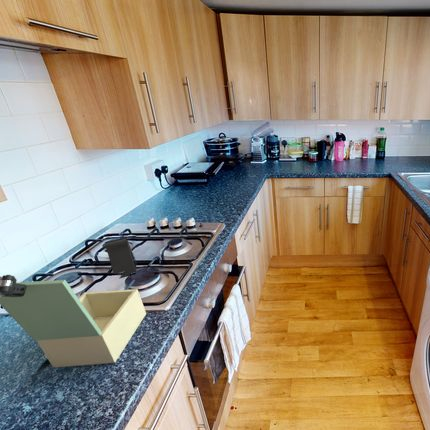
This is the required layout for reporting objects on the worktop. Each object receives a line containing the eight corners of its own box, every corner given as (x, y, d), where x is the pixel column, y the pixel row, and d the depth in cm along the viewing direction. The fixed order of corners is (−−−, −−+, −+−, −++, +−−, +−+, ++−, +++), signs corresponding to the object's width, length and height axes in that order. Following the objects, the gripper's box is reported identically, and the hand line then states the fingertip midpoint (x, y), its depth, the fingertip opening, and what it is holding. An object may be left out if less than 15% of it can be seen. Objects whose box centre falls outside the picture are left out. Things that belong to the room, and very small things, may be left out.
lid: (-13, 284, 53) (-17, 287, 52) (65, 279, 54) (62, 282, 53) (36, 337, 62) (33, 340, 61) (102, 332, 63) (100, 335, 62)
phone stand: (136, 274, 97) (125, 243, 92) (115, 279, 95) (103, 249, 90) (136, 261, 104) (126, 232, 99) (116, 266, 102) (105, 236, 97)
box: (96, 317, 80) (84, 292, 76) (146, 313, 81) (137, 289, 77) (53, 367, 66) (36, 340, 62) (115, 362, 67) (102, 335, 63)
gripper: (-41, 247, 38) (64, 268, 54) (-152, 252, 37) (-11, 272, 53) (-63, 306, 35) (54, 309, 52) (-183, 314, 34) (-25, 315, 51)
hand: (21, 290), depth 52 cm, fingers closed
